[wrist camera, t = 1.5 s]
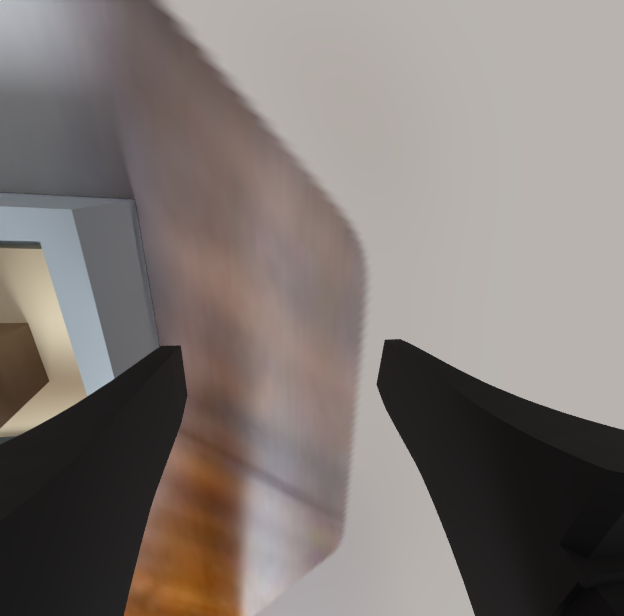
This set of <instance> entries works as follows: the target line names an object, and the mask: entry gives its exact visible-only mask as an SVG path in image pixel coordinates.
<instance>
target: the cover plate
mask: <svg viewBox="0 0 624 616" xmlns="http://www.w3.org/2000/svg"><path fill="white" fill-rule="evenodd" d="M86 397H87V394H86V390H85V387H84V384H83V381H82V377H81V374H80V371H79V368H78V364H77V361H76V358H75V355H74V351H73V348H72V345H71V342H70V338H69V335H68V332H67V329H66V325H65V322H64V319H63V316H62V312H61V309H60V306H59V303H58V299H57V296H56V293H55V290H54V286H53V283H52V280H51V277H50V273H49V270H48V267H47V264H46V260H45V257H44V254H43V251H42V247H41V245H31V244H0V437H10V436H18V435H21V434H23V433H25V432H26V431H28V430H30V429H32V428H34V427H36V426H38V425H40V424H41V423H43V422H45V421H47V420H49V419H50V418H52V417H54V416H56V415H58V414H59V413H61V412H63V411H64V410H66V409H68V408H70V407H71V406H73V405H75V404H76V403H78V402H80V401H81V400H83V399H84V398H86Z"/></svg>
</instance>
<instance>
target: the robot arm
mask: <svg viewBox="0 0 624 616" xmlns="http://www.w3.org/2000/svg"><path fill="white" fill-rule="evenodd" d="M377 387H378V389H379V392H380V395H381V398H382V400H383V403H384V405H385V408H386V410H387V412H388V414H389V416H390V417H391V419H392V421H393V423H394V425H395V427H396V429H397V430H398V432H399V434H400V436H401V438H402V439H403V441H404V443H405V445H406V447H407V449H408V450H409V452H410V454H411V456H412V458H413V459H414V461H415V463H416V465H417V467H418V469H419V471H420V473H421V475H422V477H423V480H424V482H425V484H426V487H427V489H428V491H429V494H430V496H431V498H432V501H433V503H434V505H435V508H436V510H437V513H438V515H439V518H440V520H441V523H442V525H443V528H444V530H445V533H446V535H447V538H448V541H449V543H450V546H451V548H452V551H453V554H454V557H455V559H456V562H457V565H458V568H459V570H460V573H461V576H462V578H463V581H464V584H465V587H466V590H467V593H468V596H469V599H470V602H471V605H472V608H473V611H474V614H475V616H624V430H622V429H617V428H614V427H610V426H607V425H603V424H600V423H596V422H593V421H589V420H585V419H582V418H579V417H576V416H572V415H569V414H566V413H562V412H560V411H557V410H554V409H551V408H548V407H545V406H542V405H539V404H536V403H533V402H531V401H528V400H525V399H523V398H520V397H518V396H515V395H513V394H510V393H508V392H506V391H503V390H501V389H498V388H496V387H494V386H491V385H489V384H487V383H485V382H482V381H481V380H479V379H476V378H474V377H472V376H470V375H468V374H466V373H464V372H462V371H460V370H458V369H456V368H454V367H453V366H451V365H449V364H447V363H445V362H443V361H441V360H439V359H438V358H436V357H434V356H432V355H430V354H429V353H427V352H425V351H423V350H421V349H419V348H417V347H415V346H413V345H411V344H410V343H408V342H405V341H403V340H401V339H395V340H385V343H384V347H383V353H382V358H381V363H380V369H379V374H378V380H377ZM186 399H187V389H186V382H185V374H184V367H183V359H182V352H181V346H160V347H159V348H157V349H156V350H154V351H153V352H151V353H150V354H148V355H147V356H145V357H144V358H143V359H141V360H140V361H139V362H137V363H136V364H134V365H133V366H132V367H130V368H129V369H127V370H126V371H125V372H123V373H122V374H120V375H119V376H117V377H116V378H115V379H113V380H112V381H110V382H109V383H107V384H106V385H104V386H103V387H101V388H100V389H98V390H96V391H95V392H93V393H92V394H90V395H89V396H87V397H86V398H84V399H83V400H81V401H80V402H78V403H76V404H75V405H73V406H71V407H70V408H68V409H66V410H64V411H63V412H61V413H59V414H58V415H56V416H54V417H52V418H50V419H49V420H47V421H45V422H43V423H41V424H40V425H38V426H36V427H34V428H32V429H30V430H28V431H26V432H25V433H23V434H21V435H18V436H16V437H14V438H12V439H10V440H8V441H6V442H4V443H2V444H0V616H124V612H125V607H126V603H127V599H128V594H129V590H130V586H131V582H132V578H133V574H134V570H135V566H136V562H137V558H138V554H139V550H140V546H141V542H142V538H143V535H144V531H145V527H146V523H147V519H148V516H149V512H150V508H151V505H152V502H153V499H154V496H155V493H156V490H157V487H158V484H159V482H160V479H161V476H162V474H163V471H164V468H165V466H166V463H167V460H168V457H169V455H170V452H171V449H172V447H173V444H174V441H175V438H176V436H177V433H178V430H179V427H180V424H181V421H182V417H183V413H184V408H185V404H186Z"/></svg>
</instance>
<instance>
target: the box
mask: <svg viewBox="0 0 624 616" xmlns="http://www.w3.org/2000/svg"><path fill="white" fill-rule="evenodd" d="M0 244H31V245H41V247H42V251H43V254H44V257H45V260H46V264H47V267H48V270H49V273H50V277H51V280H52V283H53V286H54V290H55V293H56V296H57V299H58V303H59V306H60V309H61V312H62V316H63V319H64V322H65V325H66V329H67V332H68V335H69V338H70V342H71V345H72V348H73V351H74V355H75V358H76V361H77V364H78V368H79V371H80V374H81V377H82V381H83V384H84V387H85V390H86V394H87V396H89V395H90V394H92V393H93V392H95V391H96V390H98V389H100V388H101V387H103V386H104V385H106V384H107V383H109V382H110V381H112V380H113V379H115V378H116V377H117V376H119V375H120V374H122V373H123V372H125V371H126V370H127V369H129V368H130V367H132V366H133V365H134V364H136V363H137V362H139V361H140V360H141V359H143V358H144V357H145V356H147V355H148V354H150V353H151V352H153V351H154V350H156V349H157V348H159V347H160V346H159V340H158V334H157V329H156V323H155V317H154V311H153V305H152V299H151V293H150V287H149V281H148V275H147V269H146V263H145V258H144V252H143V246H142V240H141V234H140V228H139V222H138V216H137V210H136V204H135V199H116V198H97V197H78V196H59V195H40V194H21V193H2V192H0ZM14 437H16V436H10V437H0V444H2V443H4V442H6V441H8V440H10V439H12V438H14Z"/></svg>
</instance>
